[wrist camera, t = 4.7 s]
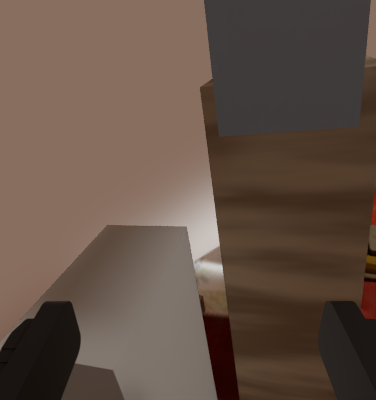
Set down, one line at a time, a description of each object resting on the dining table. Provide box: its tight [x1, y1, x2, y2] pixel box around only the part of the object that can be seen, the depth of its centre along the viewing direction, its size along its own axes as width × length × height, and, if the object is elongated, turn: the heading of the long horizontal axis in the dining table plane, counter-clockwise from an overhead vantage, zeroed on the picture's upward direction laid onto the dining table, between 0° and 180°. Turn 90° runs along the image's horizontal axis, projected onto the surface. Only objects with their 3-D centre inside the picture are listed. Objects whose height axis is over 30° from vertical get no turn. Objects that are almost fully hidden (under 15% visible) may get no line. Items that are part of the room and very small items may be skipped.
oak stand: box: [200, 55, 376, 400], centre depth 32 cm, size 18×10×32 cm, turn 164°
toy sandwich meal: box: [364, 225, 376, 280], centre depth 49 cm, size 12×14×5 cm
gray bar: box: [204, 0, 371, 137], centre depth 20 cm, size 30×4×4 cm, turn 164°
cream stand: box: [0, 225, 217, 400], centre depth 25 cm, size 12×7×22 cm, turn 164°
